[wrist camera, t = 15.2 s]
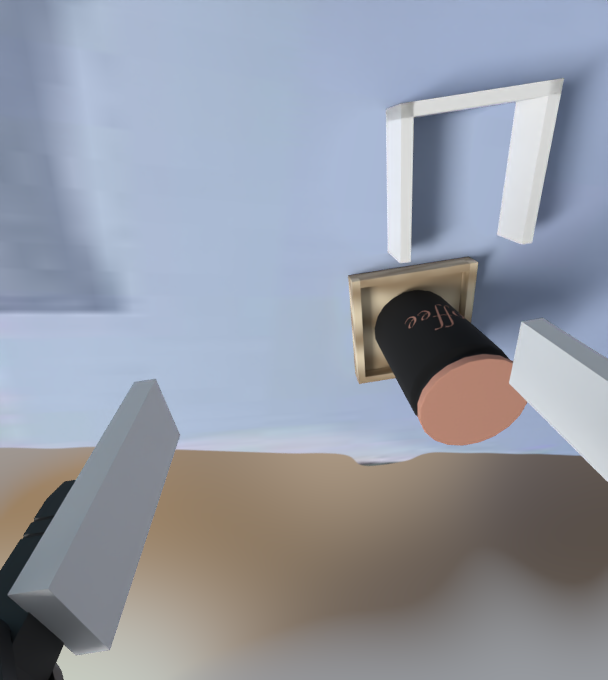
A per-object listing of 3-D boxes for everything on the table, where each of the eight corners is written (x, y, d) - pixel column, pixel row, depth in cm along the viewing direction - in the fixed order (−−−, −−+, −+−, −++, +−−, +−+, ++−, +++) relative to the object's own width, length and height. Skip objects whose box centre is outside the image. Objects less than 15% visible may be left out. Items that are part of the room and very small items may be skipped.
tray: (348, 275, 45) (352, 281, 43) (468, 256, 45) (478, 262, 43) (355, 374, 53) (359, 383, 51) (457, 358, 53) (465, 367, 51)
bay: (385, 108, 36) (401, 103, 32) (529, 86, 36) (564, 78, 32) (387, 252, 44) (400, 263, 39) (506, 233, 44) (531, 242, 40)
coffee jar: (460, 297, 47) (554, 371, 31) (425, 361, 52) (491, 453, 36) (390, 277, 45) (453, 346, 29) (360, 345, 49) (401, 437, 34)
